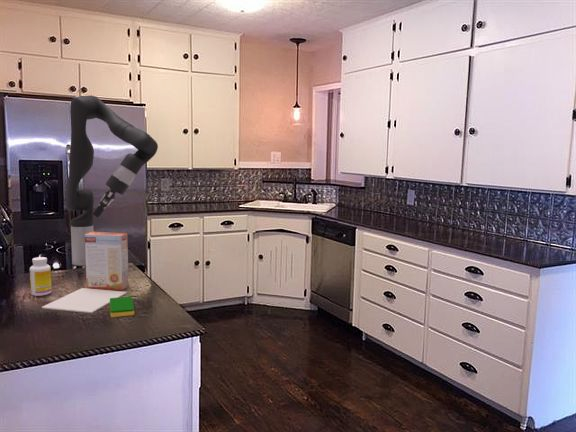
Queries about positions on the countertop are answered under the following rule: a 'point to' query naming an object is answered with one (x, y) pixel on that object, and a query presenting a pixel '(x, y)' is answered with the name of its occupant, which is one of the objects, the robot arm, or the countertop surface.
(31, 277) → the supplement bottle
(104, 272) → the cracker box
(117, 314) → the dish sponge
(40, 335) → the countertop surface
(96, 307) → the mat
